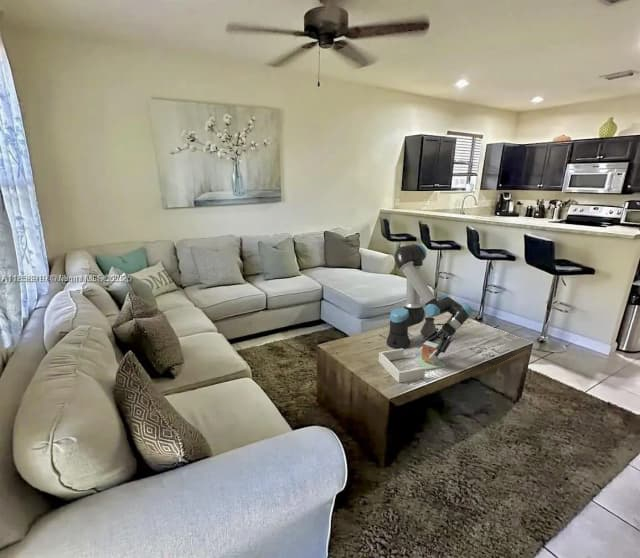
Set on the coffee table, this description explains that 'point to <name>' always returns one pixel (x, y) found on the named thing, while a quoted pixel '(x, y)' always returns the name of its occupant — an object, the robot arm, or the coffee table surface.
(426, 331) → the coffee pot
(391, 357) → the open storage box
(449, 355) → the coffee table surface
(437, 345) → the small box
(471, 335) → the coffee table surface
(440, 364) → the sage pad
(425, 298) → the robot arm
